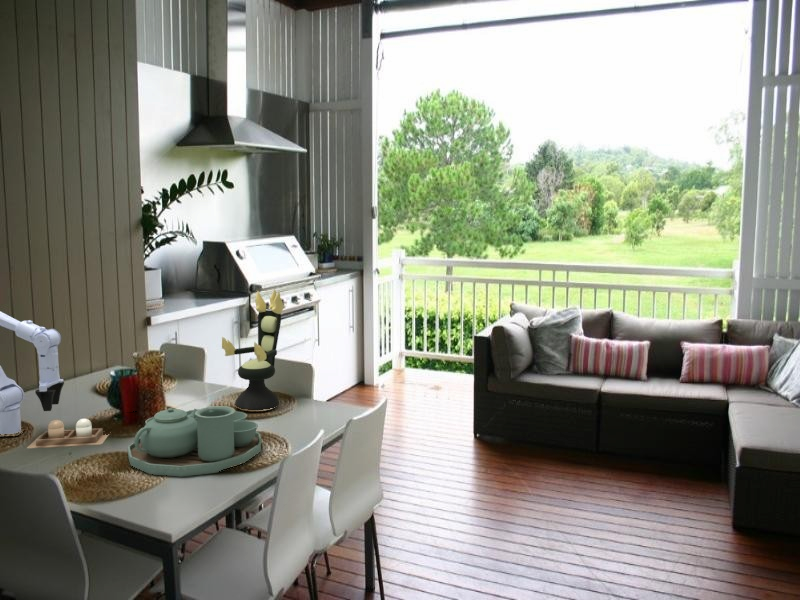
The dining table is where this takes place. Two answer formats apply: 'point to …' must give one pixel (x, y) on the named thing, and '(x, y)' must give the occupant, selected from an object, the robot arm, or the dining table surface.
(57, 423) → the brown egg
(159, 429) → the tea set
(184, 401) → the dining table surface
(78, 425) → the cream egg
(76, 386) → the dining table surface
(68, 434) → the wooden divided tray
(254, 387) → the toy throne chair
